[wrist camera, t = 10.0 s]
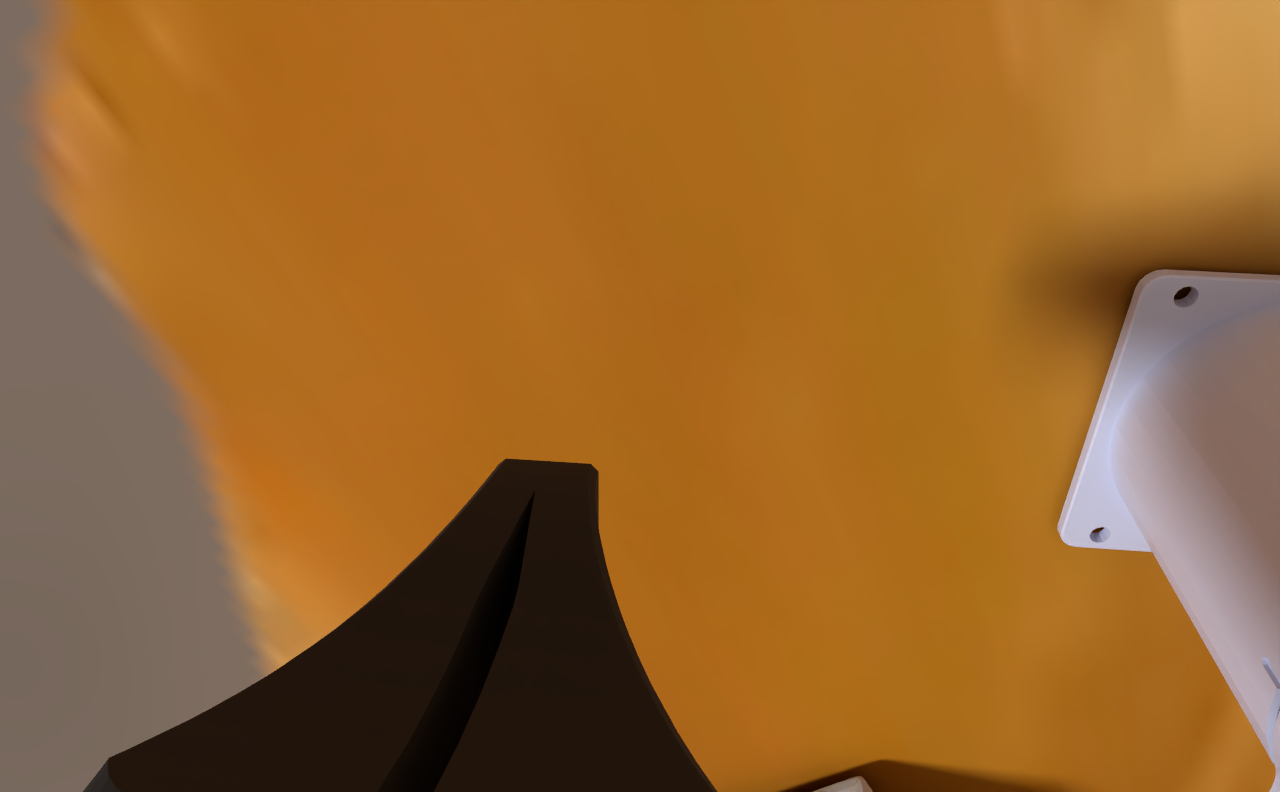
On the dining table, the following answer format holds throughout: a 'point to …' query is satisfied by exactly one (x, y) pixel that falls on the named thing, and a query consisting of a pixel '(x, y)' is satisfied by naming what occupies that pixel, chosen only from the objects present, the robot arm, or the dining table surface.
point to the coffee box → (848, 786)
